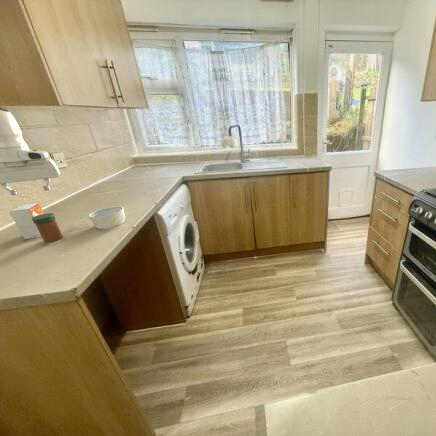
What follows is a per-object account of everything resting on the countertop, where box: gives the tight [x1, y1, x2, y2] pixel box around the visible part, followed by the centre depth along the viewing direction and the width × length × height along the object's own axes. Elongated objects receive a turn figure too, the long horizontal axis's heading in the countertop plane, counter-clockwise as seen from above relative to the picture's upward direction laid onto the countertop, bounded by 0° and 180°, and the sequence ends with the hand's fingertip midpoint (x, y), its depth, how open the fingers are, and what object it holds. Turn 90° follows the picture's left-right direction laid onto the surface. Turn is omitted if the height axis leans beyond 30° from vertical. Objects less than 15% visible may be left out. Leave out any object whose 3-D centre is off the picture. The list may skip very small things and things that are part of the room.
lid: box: [32, 212, 56, 224], centre depth 97 cm, size 6×6×2 cm
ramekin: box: [88, 205, 127, 230], centre depth 113 cm, size 13×13×7 cm
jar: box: [35, 219, 64, 244], centre depth 99 cm, size 6×6×11 cm
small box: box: [9, 202, 45, 240], centre depth 104 cm, size 8×6×13 cm
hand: (31, 192), depth 93 cm, fingers open, 8 cm apart
